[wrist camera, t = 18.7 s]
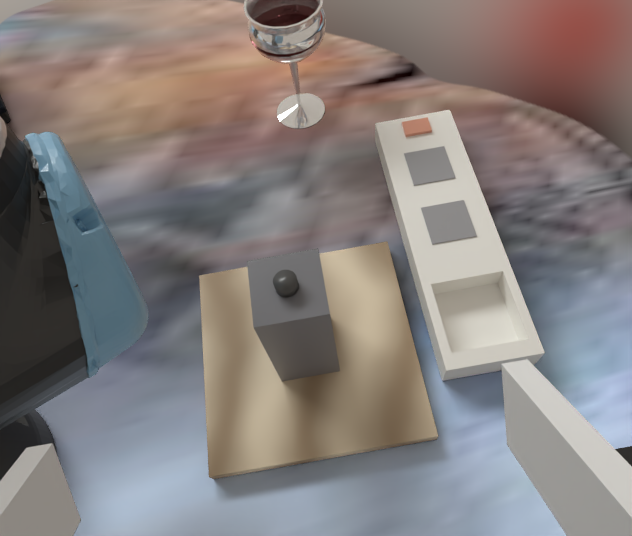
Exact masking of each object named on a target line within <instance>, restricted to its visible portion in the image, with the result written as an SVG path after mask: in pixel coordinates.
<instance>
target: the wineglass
mask: <svg viewBox="0 0 632 536" xmlns="http://www.w3.org/2000/svg"><path fill="white" fill-rule="evenodd" d="M322 4H323V0H245V3H244V11H245V15H246V16H247V17H248V18H249V19H248V32H249V36H250V39H251V42H252V44H253V45H254V46H255V47H256V49H257V50H258V51H259V52H260V53H261V54H262V55H263V56H264V57H266V58H268V59H270V60H272V61H275V62H278V63H282V64H289V66H290V70H291V75H292V79H293V84H294V89H295V93H296V94H294V95H291V96H289V97H287V98H285V99H284V100H283V101H282V102H281V103H280V105H279V106H278V108H277V116H278V119H279V120H280V121H281V123H282V124H284V125H286V126H288V127H291V128H306V127H309V126H312V125H314V124H315V123H317V122H318V121H319V120H320V119H321V118H322V116H323V114H324V112H325V106H324V103H323V101H322V100H321V99H320V98H319V97H317V96H315V95H313V94H308V93H300V84H299V75H298V65H297V62H300V61H302V60H304V59H306V58H307V57H308V56H310V55H311V54H312V53H313V52H314V51H315V50H316V49H318V48H319V46H320V44H321V42H322V40H323V37H324V34H325V22H326V17H325V14H324V11H323V9H322Z"/></svg>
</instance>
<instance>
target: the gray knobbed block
mask: <svg viewBox="0 0 632 536" xmlns="http://www.w3.org/2000/svg"><path fill="white" fill-rule="evenodd" d="M247 267H248V278H249V288H250V298H251V308H252V318H253V328H254V330H255V332H256V333H257V335H258V337H259V339H260V341H261V343H262V345H263V347H264V349H265V351H266V352H267V354H268V356H269V358H270V360H271V362H272V364H273V366H274V368H275V370H276V371H277V373H278V375H279V377H280V379H281V381H288V380H293V379H299V378H304V377H310V376H316V375H321V374H327V373H333V372H338V371H340V367H339V361H338V356H337V350H336V344H335V339H334V333H333V327H332V322H331V316H330V311H329V305H328V299H327V294H326V288H325V283H324V277H323V272H322V266H321V261H320V255H319V250H318V249H312V250H307V251H301V252H296V253H290V254H284V255H279V256H273V257H268V258H262V259H257V260H251V261H247Z"/></svg>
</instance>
